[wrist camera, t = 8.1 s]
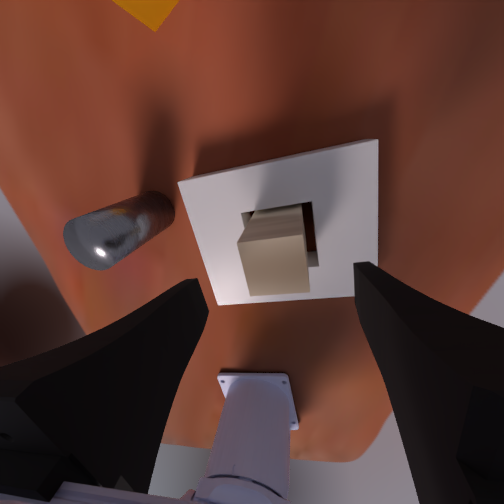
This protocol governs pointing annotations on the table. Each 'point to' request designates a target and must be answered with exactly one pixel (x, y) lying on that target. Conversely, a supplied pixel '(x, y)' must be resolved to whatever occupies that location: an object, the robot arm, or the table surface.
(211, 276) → the socket block
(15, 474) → the robot arm
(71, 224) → the round peg
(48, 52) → the table surface
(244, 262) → the square peg
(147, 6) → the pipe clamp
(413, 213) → the table surface
